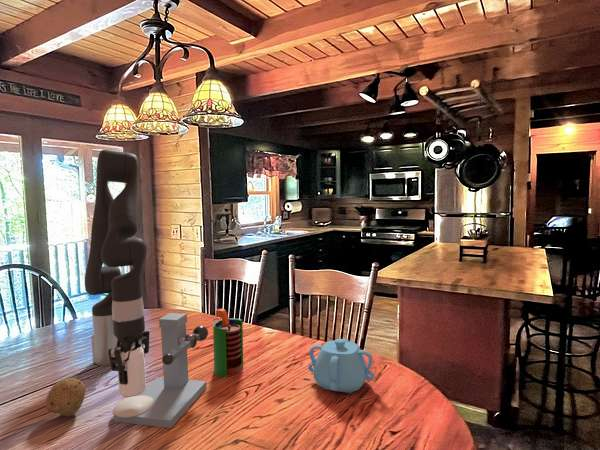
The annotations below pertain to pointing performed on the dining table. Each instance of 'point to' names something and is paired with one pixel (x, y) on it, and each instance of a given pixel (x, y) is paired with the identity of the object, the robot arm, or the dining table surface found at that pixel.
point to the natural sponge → (66, 397)
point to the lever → (186, 344)
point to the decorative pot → (340, 366)
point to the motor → (227, 345)
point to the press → (164, 384)
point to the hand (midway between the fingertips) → (132, 377)
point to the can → (134, 373)
